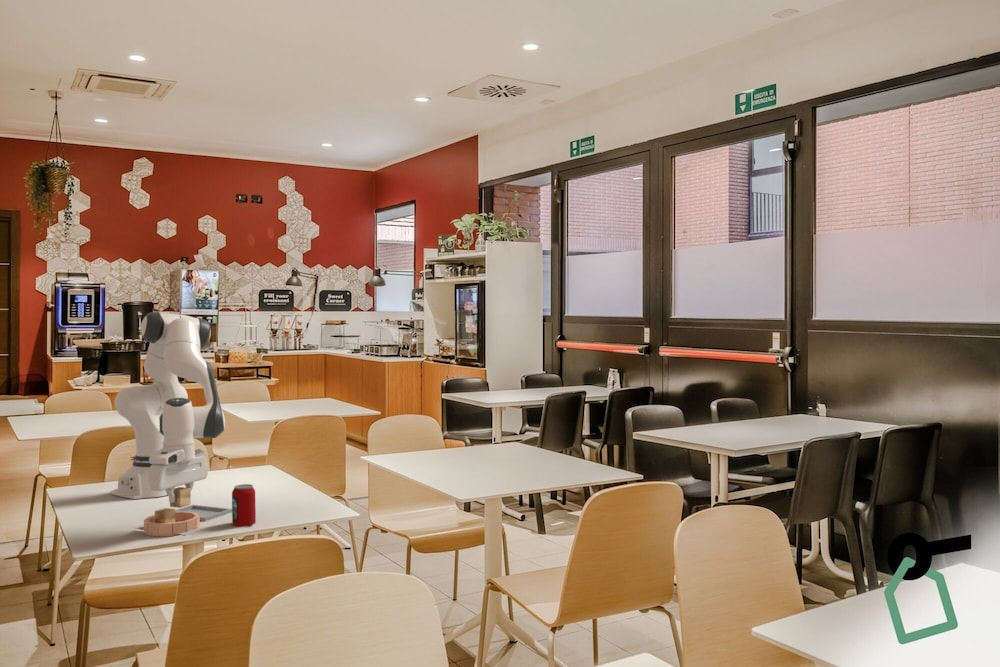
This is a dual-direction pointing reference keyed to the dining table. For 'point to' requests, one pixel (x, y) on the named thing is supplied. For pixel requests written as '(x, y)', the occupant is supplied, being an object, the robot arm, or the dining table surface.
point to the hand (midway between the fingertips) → (179, 500)
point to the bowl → (172, 524)
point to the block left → (165, 515)
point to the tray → (206, 511)
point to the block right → (181, 497)
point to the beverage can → (243, 505)
